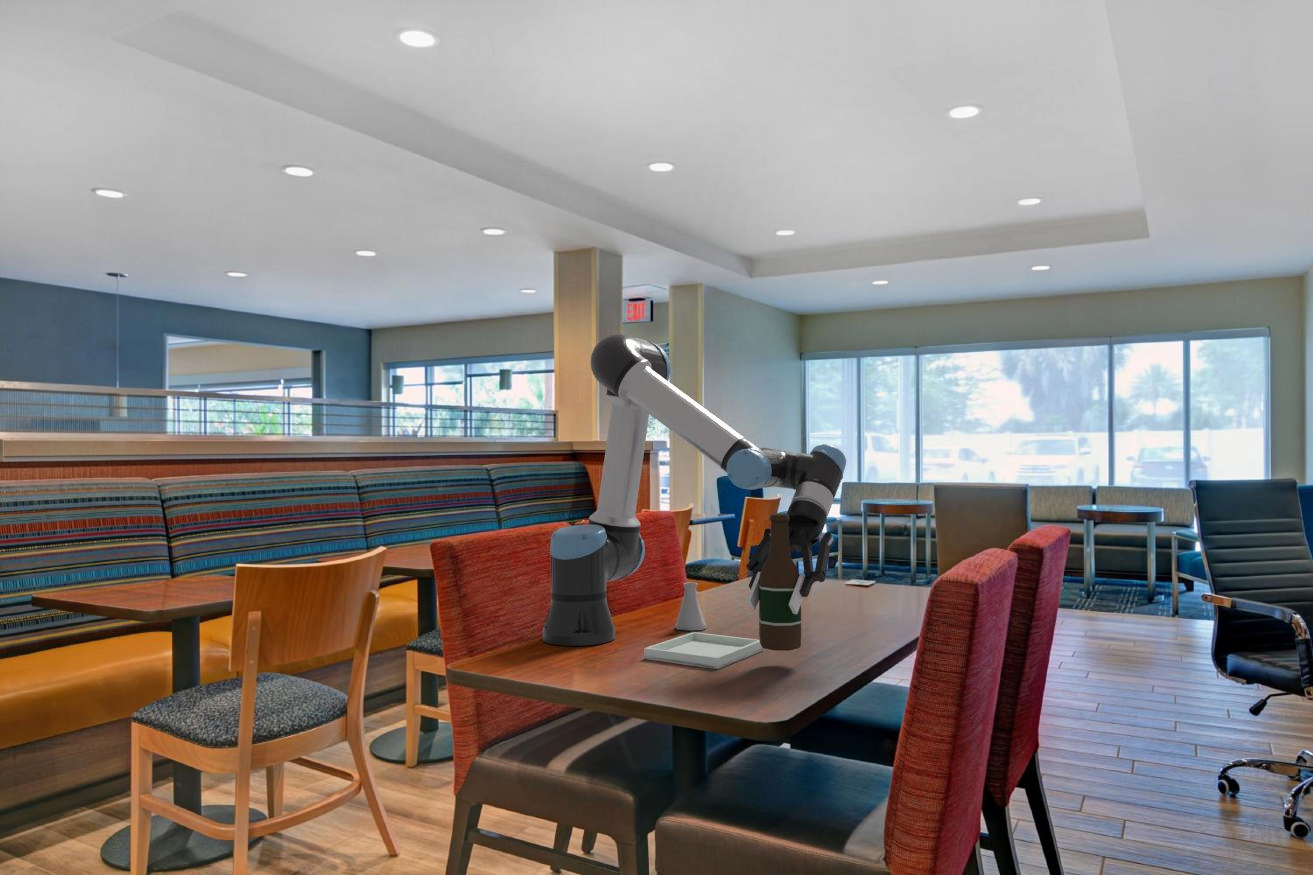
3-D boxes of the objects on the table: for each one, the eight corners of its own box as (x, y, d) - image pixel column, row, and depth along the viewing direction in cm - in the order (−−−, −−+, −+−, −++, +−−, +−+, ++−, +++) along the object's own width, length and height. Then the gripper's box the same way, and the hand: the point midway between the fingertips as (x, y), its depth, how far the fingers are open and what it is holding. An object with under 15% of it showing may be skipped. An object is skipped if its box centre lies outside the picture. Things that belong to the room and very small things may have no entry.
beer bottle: (753, 648, 160) (753, 514, 160) (764, 640, 167) (764, 511, 167) (796, 652, 157) (795, 515, 157) (806, 643, 164) (805, 512, 164)
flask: (707, 625, 201) (707, 581, 201) (706, 631, 194) (706, 585, 194) (675, 625, 202) (675, 580, 202) (673, 631, 195) (672, 585, 195)
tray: (644, 658, 168) (644, 648, 168) (693, 641, 183) (693, 631, 183) (718, 669, 160) (717, 658, 160) (763, 650, 175) (763, 640, 175)
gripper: (864, 526, 169) (831, 625, 156) (767, 521, 181) (728, 613, 167) (854, 499, 165) (819, 599, 151) (754, 496, 176) (714, 589, 163)
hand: (771, 606), depth 159 cm, fingers closed on beer bottle, 8 cm apart
